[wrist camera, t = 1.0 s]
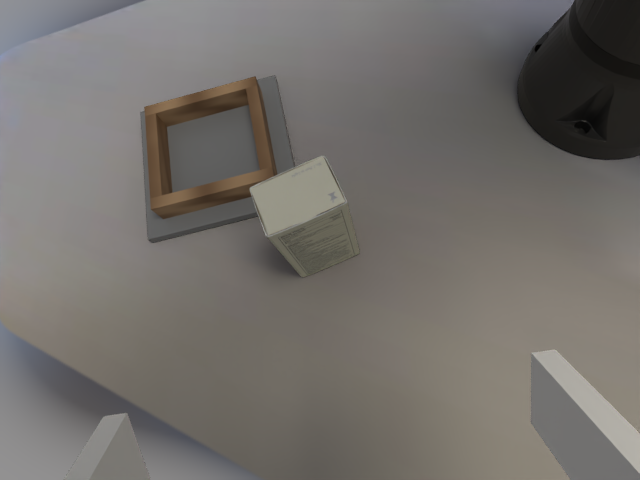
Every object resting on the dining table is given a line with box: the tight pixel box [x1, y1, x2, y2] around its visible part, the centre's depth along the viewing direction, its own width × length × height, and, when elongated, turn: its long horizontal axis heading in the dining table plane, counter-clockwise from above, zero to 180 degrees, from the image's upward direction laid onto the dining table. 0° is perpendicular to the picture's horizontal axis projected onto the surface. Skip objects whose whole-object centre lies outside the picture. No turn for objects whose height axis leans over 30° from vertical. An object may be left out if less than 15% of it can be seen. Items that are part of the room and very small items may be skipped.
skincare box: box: [250, 156, 360, 277], centre depth 35 cm, size 6×4×12 cm
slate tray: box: [141, 75, 295, 243], centre depth 46 cm, size 16×16×1 cm
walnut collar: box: [144, 77, 277, 219], centre depth 44 cm, size 12×12×2 cm
